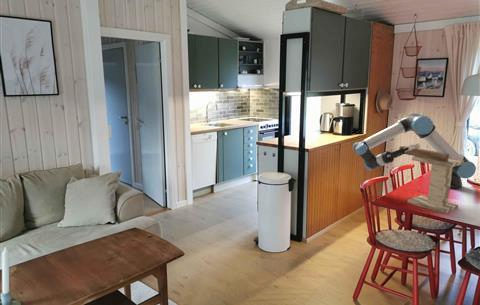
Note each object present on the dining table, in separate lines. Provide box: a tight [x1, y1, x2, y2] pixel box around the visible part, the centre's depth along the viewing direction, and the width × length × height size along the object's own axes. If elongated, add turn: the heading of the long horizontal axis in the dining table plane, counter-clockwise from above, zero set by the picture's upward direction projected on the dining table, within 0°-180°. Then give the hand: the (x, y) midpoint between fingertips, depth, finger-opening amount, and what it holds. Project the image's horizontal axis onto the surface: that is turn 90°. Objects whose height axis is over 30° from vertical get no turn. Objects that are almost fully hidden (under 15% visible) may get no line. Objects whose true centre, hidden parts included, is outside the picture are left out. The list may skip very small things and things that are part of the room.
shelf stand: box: [407, 156, 464, 215], centre depth 215 cm, size 16×22×29 cm
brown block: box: [398, 145, 449, 162], centre depth 215 cm, size 4×28×4 cm, turn 34°
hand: (416, 145), depth 218 cm, fingers open, 5 cm apart
